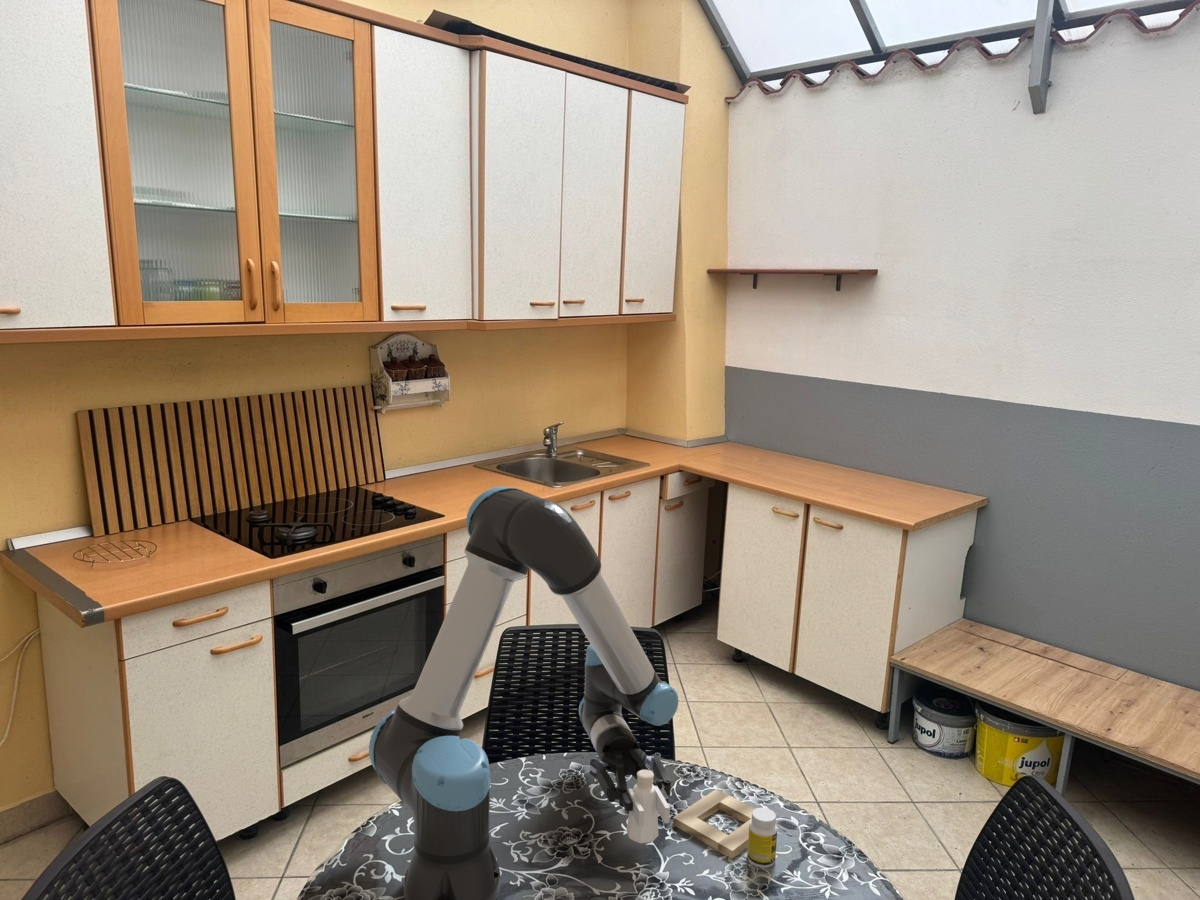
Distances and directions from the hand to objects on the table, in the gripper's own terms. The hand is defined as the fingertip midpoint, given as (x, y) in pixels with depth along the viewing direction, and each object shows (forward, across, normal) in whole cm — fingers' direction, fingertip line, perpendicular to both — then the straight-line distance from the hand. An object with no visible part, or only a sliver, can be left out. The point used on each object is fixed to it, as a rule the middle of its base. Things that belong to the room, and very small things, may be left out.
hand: (654, 816), depth 133 cm
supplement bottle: (-1, -20, -11) cm, 23 cm away
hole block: (-11, -18, -11) cm, 24 cm away
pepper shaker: (-5, 0, -7) cm, 9 cm away
